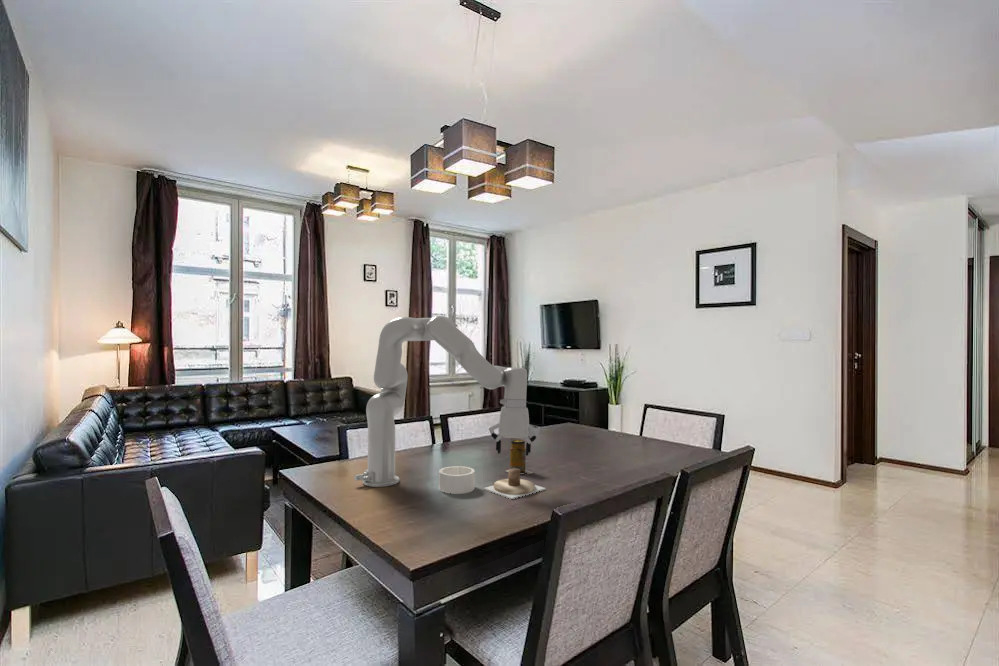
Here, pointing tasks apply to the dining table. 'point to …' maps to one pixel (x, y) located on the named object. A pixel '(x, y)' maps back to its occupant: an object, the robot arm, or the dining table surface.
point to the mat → (513, 496)
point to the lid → (514, 484)
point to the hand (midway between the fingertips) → (513, 453)
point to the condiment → (518, 455)
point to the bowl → (456, 480)
